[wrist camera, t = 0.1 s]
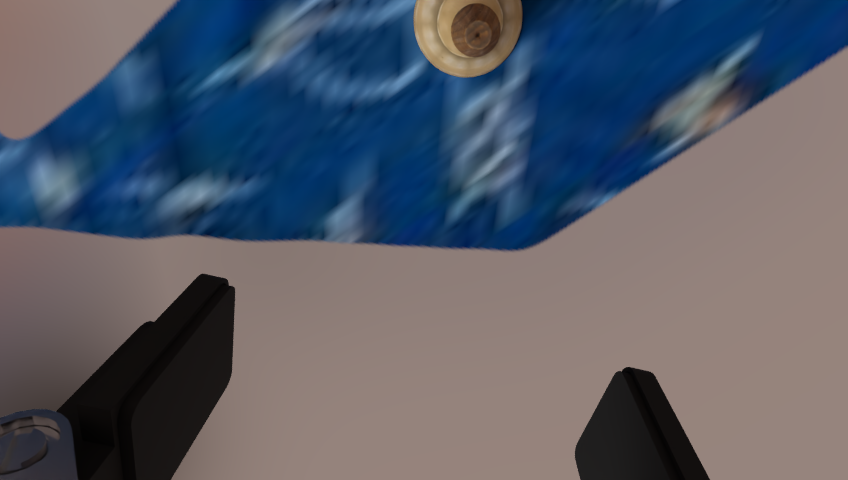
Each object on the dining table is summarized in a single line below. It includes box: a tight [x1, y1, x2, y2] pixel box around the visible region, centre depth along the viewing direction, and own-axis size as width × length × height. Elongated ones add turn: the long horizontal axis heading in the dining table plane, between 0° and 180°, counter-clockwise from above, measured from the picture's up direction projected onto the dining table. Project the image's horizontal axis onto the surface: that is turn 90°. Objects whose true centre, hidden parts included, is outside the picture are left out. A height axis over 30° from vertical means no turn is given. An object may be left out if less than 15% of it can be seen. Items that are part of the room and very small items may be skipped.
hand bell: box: [414, 0, 522, 77], centre depth 29 cm, size 8×8×16 cm
